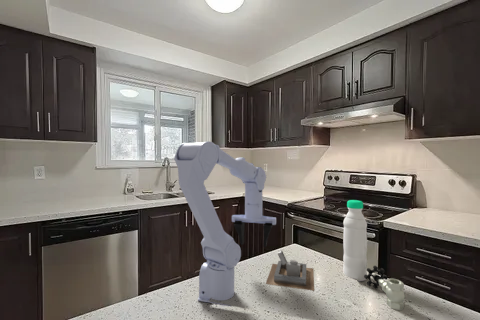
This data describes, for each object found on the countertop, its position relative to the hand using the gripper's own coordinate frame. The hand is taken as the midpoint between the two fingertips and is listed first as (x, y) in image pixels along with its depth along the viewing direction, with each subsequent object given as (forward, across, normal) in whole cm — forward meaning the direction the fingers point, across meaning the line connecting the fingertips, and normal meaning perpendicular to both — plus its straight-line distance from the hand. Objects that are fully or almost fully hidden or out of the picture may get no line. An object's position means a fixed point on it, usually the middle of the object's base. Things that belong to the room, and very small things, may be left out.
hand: (253, 244), depth 81 cm
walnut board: (+10, -12, -2) cm, 16 cm away
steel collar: (+9, -12, -2) cm, 15 cm away
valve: (+11, -38, +2) cm, 40 cm away
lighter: (+10, -11, -1) cm, 15 cm away
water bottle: (+11, -32, -9) cm, 35 cm away
